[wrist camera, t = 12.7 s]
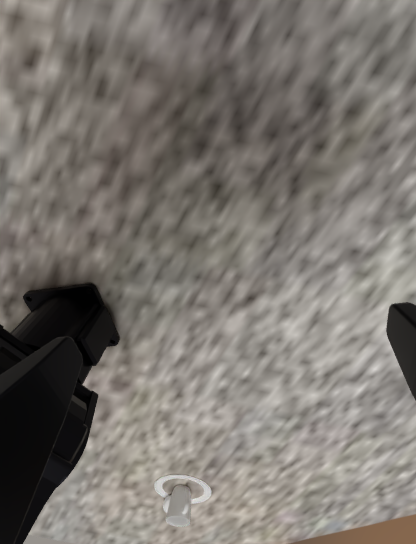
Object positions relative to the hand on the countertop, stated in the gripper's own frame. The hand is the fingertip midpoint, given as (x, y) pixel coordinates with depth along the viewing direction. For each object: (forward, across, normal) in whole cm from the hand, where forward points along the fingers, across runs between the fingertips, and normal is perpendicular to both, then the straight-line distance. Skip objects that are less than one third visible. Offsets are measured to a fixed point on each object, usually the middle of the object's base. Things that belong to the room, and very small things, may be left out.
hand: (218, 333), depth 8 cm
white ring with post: (+14, +16, +39) cm, 44 cm away
